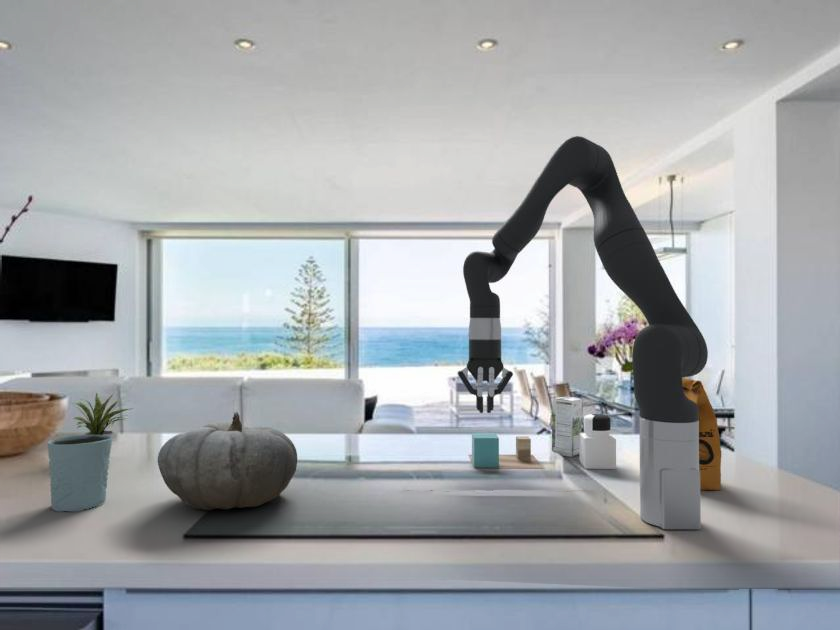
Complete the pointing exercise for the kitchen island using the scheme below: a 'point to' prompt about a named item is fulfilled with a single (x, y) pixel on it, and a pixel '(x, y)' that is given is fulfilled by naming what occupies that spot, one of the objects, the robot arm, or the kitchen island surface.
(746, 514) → the kitchen island surface
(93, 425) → the house plant
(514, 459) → the board
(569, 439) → the syrup box
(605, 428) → the medicine bottle
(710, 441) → the coffee package
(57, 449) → the blue planter pot
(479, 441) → the teal foam cube
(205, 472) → the gourd
